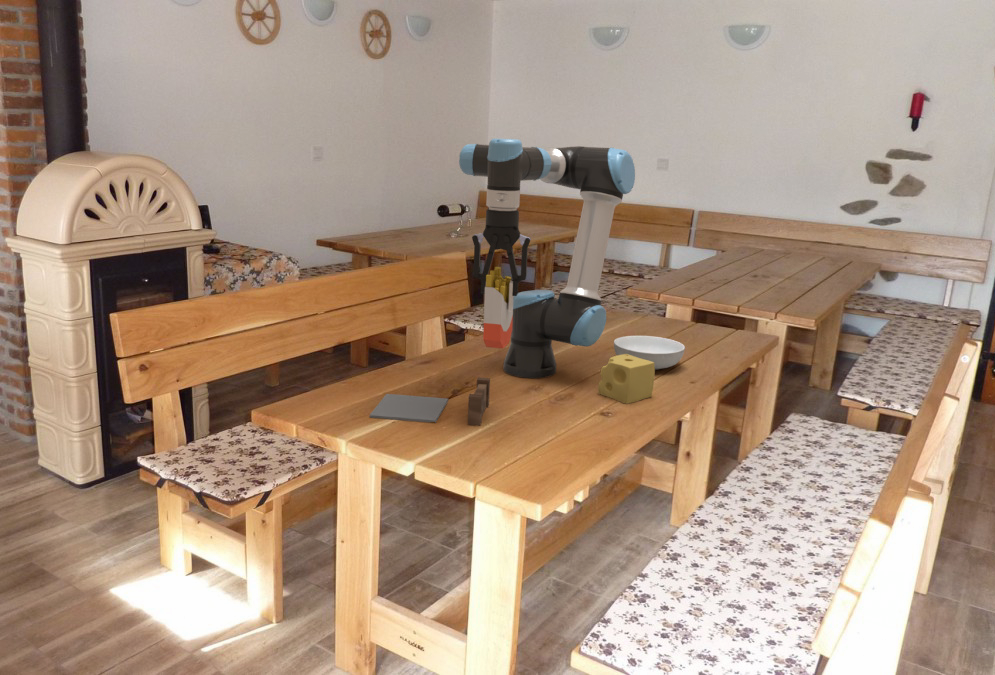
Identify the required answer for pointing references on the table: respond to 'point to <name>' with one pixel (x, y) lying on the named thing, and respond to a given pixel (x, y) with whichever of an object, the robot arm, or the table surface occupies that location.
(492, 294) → the french fries container
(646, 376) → the cheese
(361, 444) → the table surface
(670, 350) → the serving bowl
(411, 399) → the slate mat
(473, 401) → the walnut fence
